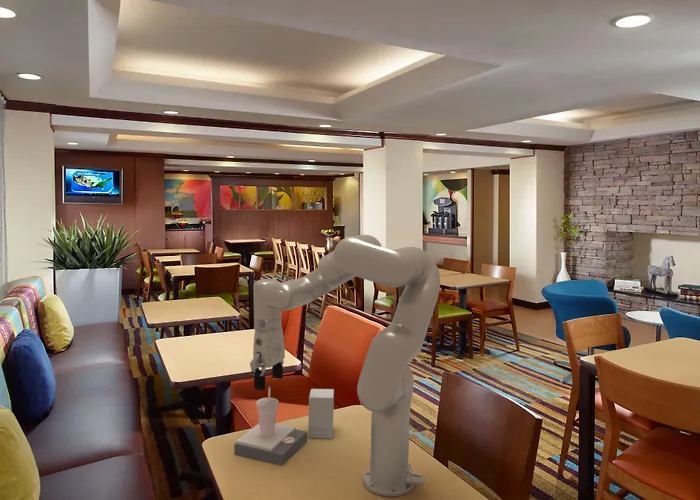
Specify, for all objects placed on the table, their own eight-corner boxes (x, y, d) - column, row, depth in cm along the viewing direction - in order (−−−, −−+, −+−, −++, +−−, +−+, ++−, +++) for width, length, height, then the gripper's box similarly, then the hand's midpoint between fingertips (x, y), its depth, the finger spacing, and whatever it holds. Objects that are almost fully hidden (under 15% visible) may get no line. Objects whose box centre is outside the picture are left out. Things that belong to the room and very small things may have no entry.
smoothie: (274, 440, 141) (274, 392, 139) (252, 438, 142) (252, 389, 141) (281, 430, 147) (282, 383, 146) (260, 428, 148) (261, 381, 147)
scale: (307, 441, 149) (307, 428, 149) (282, 465, 135) (282, 452, 135) (262, 431, 154) (262, 419, 154) (234, 454, 141) (234, 441, 140)
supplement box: (332, 439, 151) (333, 398, 150) (307, 438, 151) (308, 397, 150) (333, 427, 158) (334, 388, 157) (309, 427, 158) (310, 388, 157)
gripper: (263, 332, 132) (264, 396, 134) (294, 318, 148) (295, 375, 150) (238, 329, 135) (240, 392, 137) (271, 316, 151) (272, 372, 153)
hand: (269, 383), depth 143 cm, fingers open, 9 cm apart
